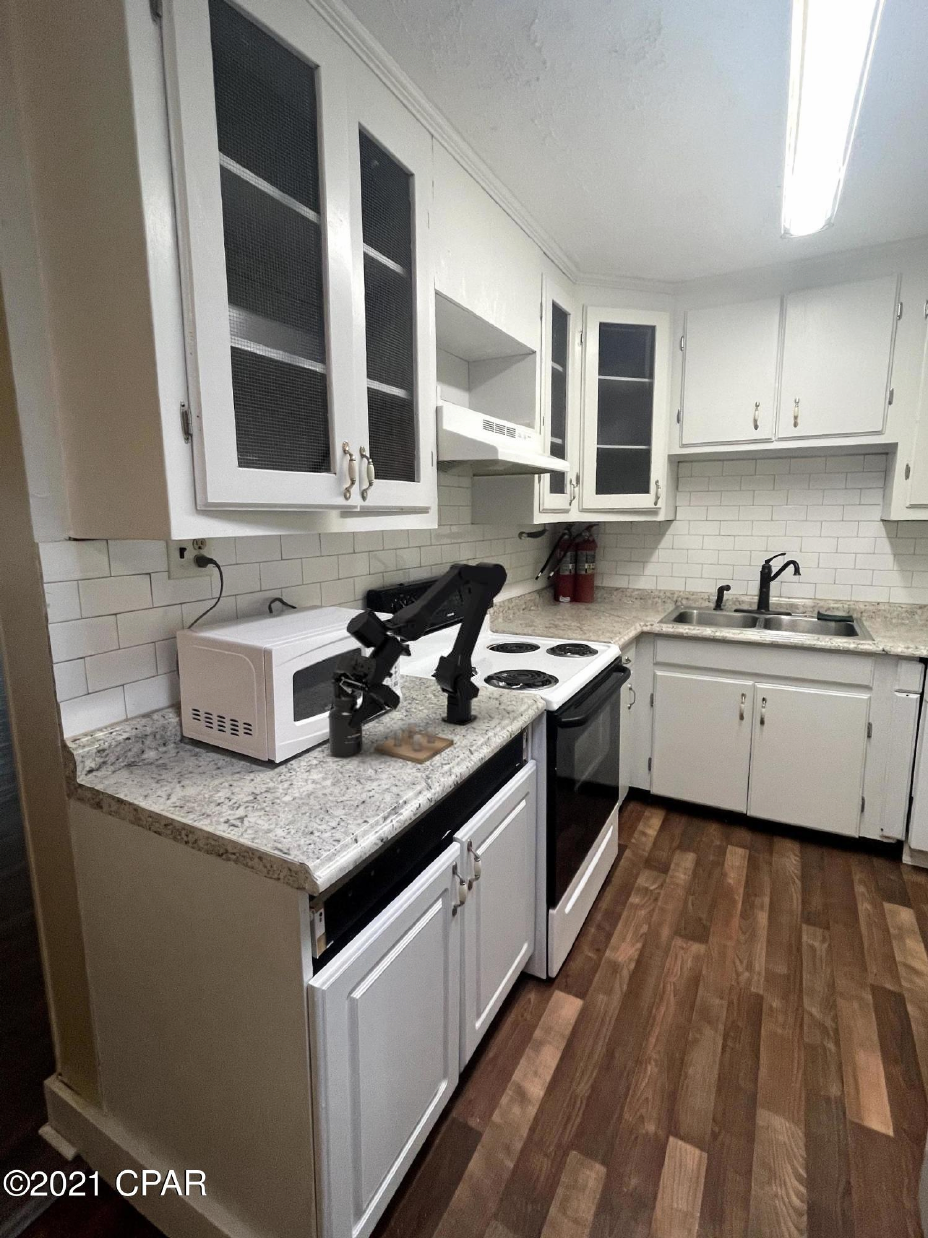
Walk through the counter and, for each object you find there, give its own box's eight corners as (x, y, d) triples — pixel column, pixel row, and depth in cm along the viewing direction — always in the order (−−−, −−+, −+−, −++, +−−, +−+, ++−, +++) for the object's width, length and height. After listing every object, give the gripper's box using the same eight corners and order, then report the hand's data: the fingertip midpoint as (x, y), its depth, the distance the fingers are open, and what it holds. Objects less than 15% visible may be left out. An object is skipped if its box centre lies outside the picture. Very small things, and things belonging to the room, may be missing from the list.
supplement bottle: (355, 759, 119) (354, 702, 117) (324, 757, 120) (322, 700, 118) (368, 746, 125) (366, 692, 123) (337, 744, 127) (336, 690, 124)
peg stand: (408, 733, 133) (408, 716, 132) (453, 744, 127) (453, 726, 126) (374, 751, 123) (374, 733, 122) (421, 764, 117) (421, 745, 116)
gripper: (332, 633, 128) (289, 693, 122) (388, 646, 115) (343, 714, 109) (362, 662, 135) (323, 720, 129) (418, 677, 122) (377, 742, 116)
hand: (340, 723), depth 120 cm, fingers open, 7 cm apart
